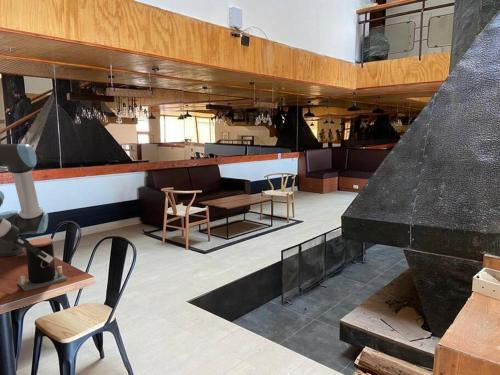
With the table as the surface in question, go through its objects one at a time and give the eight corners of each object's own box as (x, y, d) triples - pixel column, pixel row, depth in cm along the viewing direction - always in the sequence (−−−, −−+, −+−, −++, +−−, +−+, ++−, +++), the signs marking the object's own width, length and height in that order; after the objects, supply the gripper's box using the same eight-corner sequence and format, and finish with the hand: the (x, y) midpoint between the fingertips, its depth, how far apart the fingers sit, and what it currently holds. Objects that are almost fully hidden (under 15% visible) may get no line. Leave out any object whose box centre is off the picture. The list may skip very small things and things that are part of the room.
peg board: (25, 291, 156) (24, 279, 155) (17, 283, 163) (16, 272, 163) (66, 280, 168) (66, 269, 168) (58, 273, 176) (57, 263, 175)
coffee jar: (44, 285, 160) (41, 245, 157) (22, 283, 161) (19, 243, 159) (60, 275, 170) (58, 238, 167) (40, 274, 172) (37, 237, 169)
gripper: (-10, 232, 160) (31, 257, 173) (5, 244, 143) (49, 271, 156) (3, 218, 163) (42, 244, 176) (20, 229, 146) (62, 256, 159)
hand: (46, 256), depth 166 cm, fingers open, 13 cm apart
